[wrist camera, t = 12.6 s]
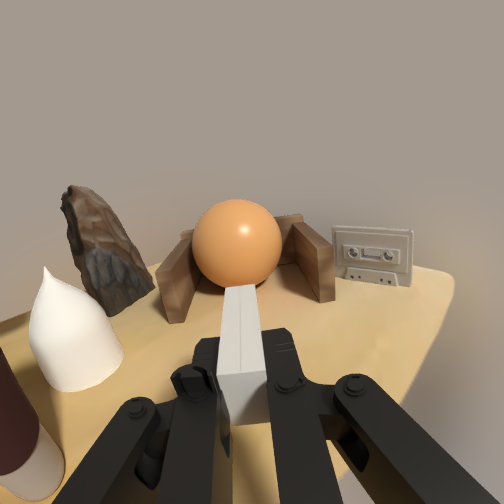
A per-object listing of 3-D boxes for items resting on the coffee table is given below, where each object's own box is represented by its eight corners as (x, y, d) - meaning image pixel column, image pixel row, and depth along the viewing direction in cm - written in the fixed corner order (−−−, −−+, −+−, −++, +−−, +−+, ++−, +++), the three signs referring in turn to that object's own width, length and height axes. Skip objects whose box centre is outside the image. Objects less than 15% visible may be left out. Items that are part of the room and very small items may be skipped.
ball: (168, 222, 32) (189, 209, 45) (204, 315, 36) (214, 280, 48) (272, 190, 32) (264, 186, 44) (299, 288, 35) (285, 259, 48)
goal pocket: (169, 323, 33) (152, 264, 31) (192, 272, 51) (183, 231, 48) (335, 300, 33) (332, 237, 31) (304, 256, 51) (299, 213, 48)
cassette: (332, 278, 40) (329, 227, 38) (337, 273, 41) (334, 224, 39) (409, 289, 32) (412, 232, 30) (412, 283, 33) (414, 229, 31)
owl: (109, 322, 35) (71, 182, 29) (67, 311, 39) (36, 199, 34) (158, 286, 46) (134, 171, 40) (113, 283, 51) (90, 186, 45)
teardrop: (104, 329, 33) (76, 246, 29) (140, 360, 26) (103, 253, 22) (39, 361, 25) (3, 275, 22) (57, 407, 18) (-1, 295, 14)
